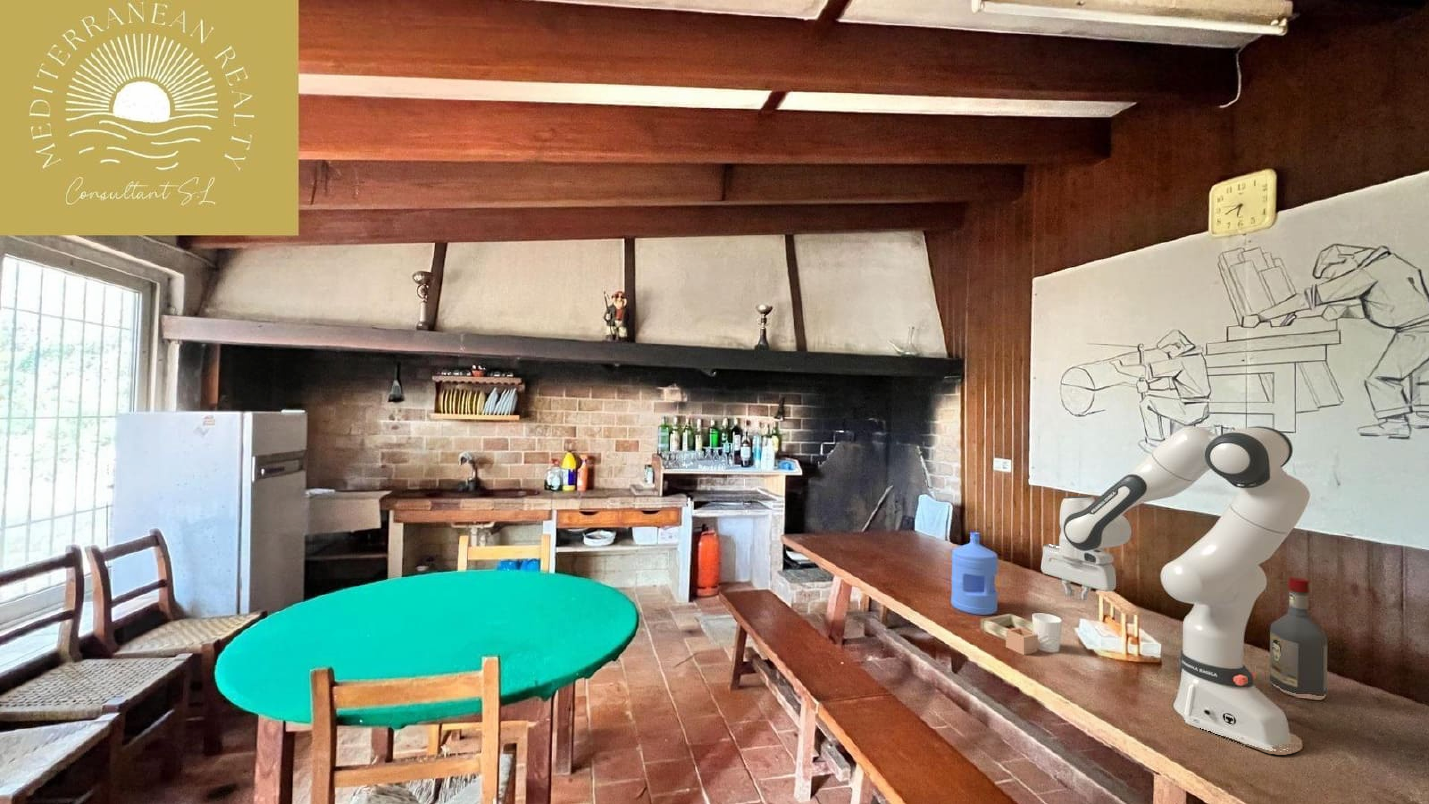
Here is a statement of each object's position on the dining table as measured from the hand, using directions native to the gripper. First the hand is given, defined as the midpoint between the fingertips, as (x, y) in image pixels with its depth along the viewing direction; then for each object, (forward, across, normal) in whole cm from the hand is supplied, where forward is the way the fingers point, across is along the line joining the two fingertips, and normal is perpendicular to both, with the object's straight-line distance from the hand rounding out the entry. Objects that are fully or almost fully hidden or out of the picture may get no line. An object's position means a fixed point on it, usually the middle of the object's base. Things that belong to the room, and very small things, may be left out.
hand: (1076, 597), depth 165 cm
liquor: (+19, +34, +39) cm, 55 cm away
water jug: (+19, -44, +9) cm, 49 cm away
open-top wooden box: (+19, -11, -8) cm, 24 cm away
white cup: (+19, -9, 0) cm, 21 cm away
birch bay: (+19, -20, 0) cm, 28 cm away
